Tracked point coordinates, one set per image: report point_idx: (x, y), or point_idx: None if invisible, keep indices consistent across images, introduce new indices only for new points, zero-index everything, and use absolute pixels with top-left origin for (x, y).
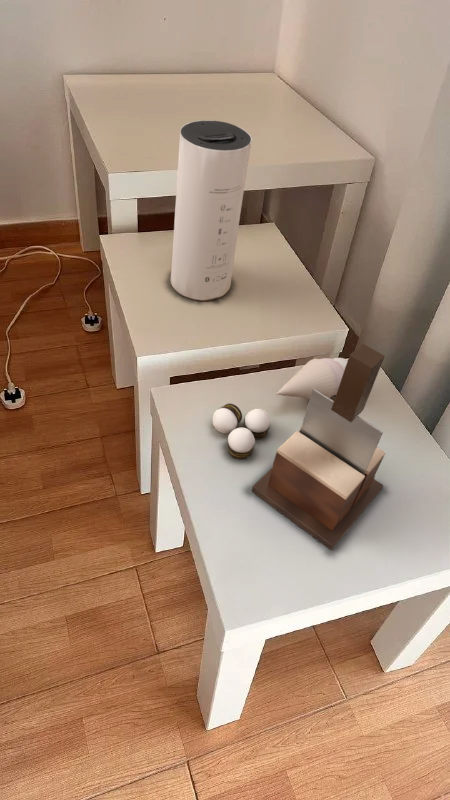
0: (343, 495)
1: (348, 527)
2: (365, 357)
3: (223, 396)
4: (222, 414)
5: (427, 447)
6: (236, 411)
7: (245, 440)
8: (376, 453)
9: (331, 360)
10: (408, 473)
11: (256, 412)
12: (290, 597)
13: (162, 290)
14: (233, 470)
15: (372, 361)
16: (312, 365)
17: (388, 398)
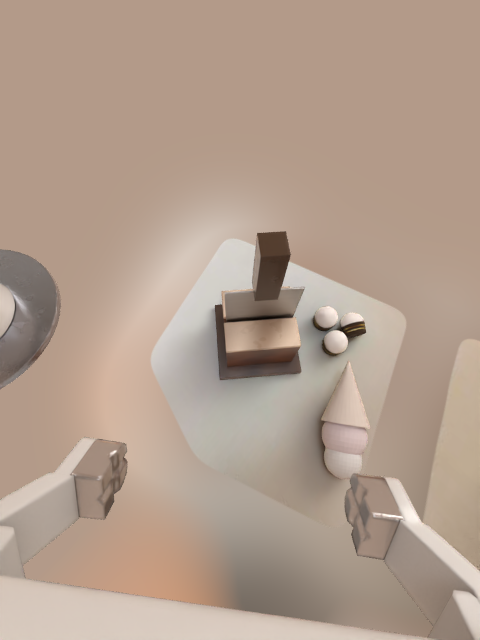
0: (224, 291)
1: (216, 324)
2: (272, 239)
3: (380, 353)
4: (355, 315)
5: (217, 463)
6: (352, 328)
7: (321, 310)
8: (231, 343)
9: (355, 441)
10: (212, 415)
11: (341, 336)
12: (213, 267)
13: None
14: (309, 306)
15: (263, 240)
16: (359, 413)
17: (287, 494)
